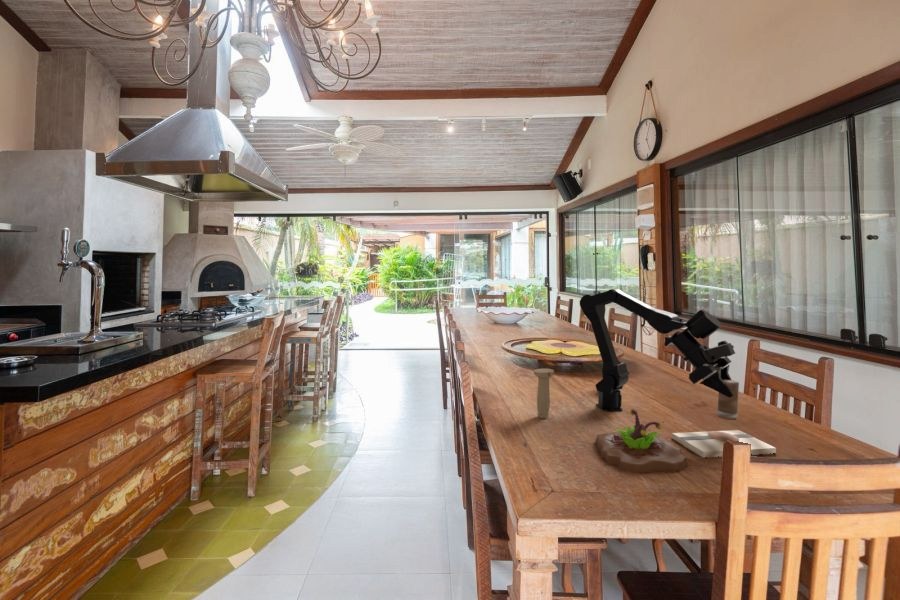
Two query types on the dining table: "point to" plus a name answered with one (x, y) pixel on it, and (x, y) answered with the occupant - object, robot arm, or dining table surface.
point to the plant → (640, 449)
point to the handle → (543, 391)
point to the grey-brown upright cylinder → (729, 402)
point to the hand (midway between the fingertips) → (734, 394)
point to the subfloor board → (719, 442)
